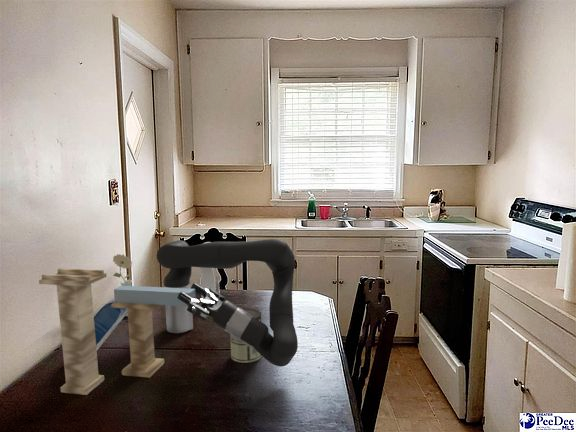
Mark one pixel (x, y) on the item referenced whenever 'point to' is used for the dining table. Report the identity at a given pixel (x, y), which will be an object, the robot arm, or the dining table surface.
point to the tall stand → (77, 327)
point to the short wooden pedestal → (140, 340)
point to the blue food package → (107, 322)
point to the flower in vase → (123, 263)
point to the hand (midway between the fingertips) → (185, 290)
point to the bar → (151, 295)
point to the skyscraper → (209, 279)
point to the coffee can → (245, 344)
